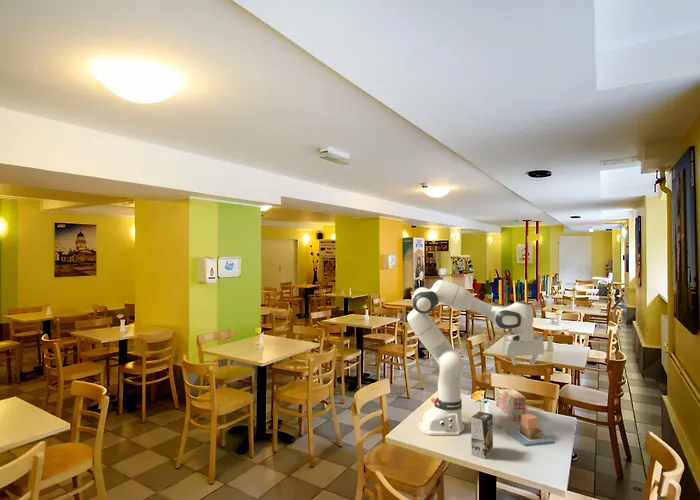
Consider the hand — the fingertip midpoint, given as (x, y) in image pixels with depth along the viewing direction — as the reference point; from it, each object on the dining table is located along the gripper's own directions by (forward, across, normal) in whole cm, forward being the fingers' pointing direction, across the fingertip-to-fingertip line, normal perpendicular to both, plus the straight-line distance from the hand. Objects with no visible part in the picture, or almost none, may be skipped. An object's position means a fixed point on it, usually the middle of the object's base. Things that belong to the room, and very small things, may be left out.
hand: (523, 364), depth 192 cm
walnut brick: (+32, 0, +4) cm, 32 cm away
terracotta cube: (+28, 0, +4) cm, 28 cm away
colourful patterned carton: (+34, -8, -25) cm, 43 cm away
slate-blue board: (+33, 0, +4) cm, 33 cm away
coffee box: (+33, +29, +13) cm, 46 cm away
